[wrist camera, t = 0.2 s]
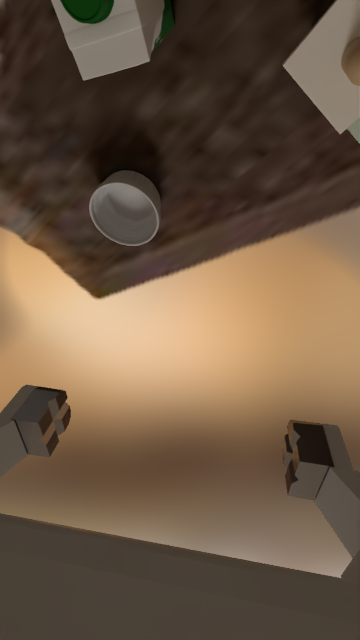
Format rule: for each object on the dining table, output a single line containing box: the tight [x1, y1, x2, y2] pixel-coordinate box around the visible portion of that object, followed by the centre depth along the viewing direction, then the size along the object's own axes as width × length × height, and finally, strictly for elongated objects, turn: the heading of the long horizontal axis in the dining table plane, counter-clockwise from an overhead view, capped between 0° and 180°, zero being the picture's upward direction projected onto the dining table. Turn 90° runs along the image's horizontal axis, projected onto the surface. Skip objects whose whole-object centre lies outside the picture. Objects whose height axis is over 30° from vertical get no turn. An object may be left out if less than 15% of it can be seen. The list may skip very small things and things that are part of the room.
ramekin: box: [89, 170, 161, 246], centre depth 60 cm, size 13×13×7 cm
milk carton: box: [51, 0, 175, 80], centre depth 34 cm, size 9×9×20 cm
